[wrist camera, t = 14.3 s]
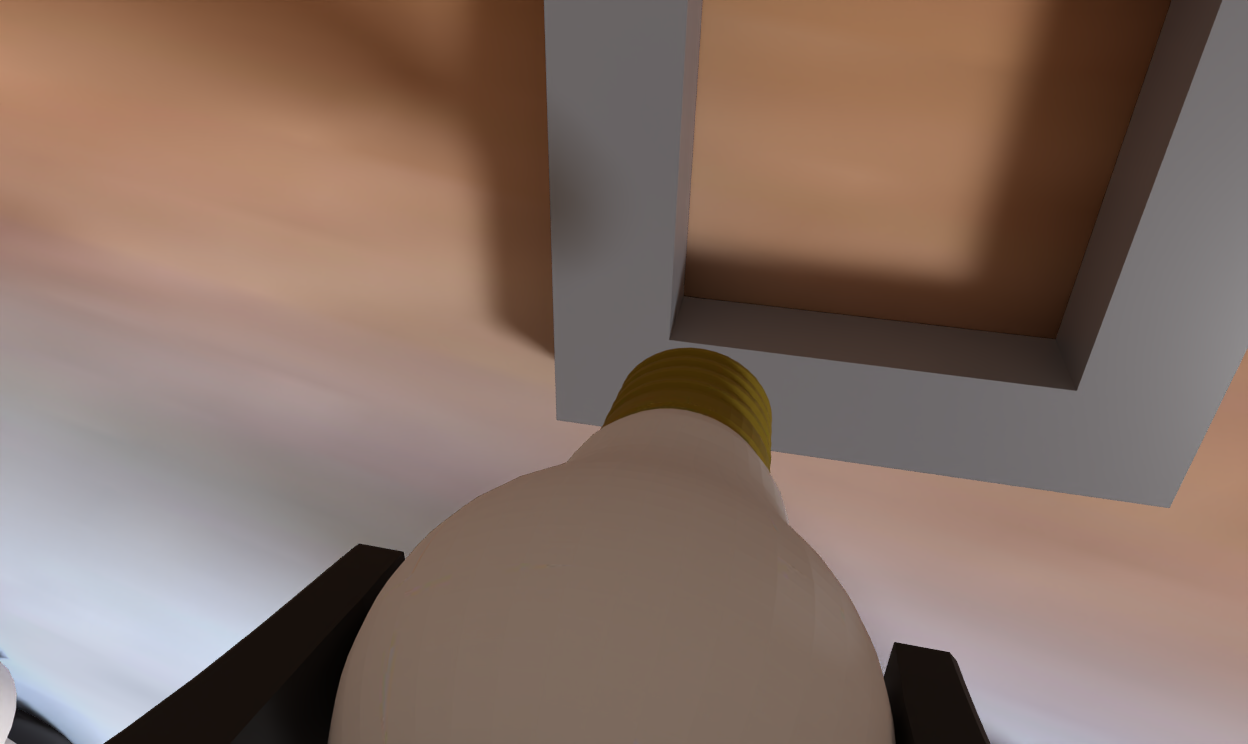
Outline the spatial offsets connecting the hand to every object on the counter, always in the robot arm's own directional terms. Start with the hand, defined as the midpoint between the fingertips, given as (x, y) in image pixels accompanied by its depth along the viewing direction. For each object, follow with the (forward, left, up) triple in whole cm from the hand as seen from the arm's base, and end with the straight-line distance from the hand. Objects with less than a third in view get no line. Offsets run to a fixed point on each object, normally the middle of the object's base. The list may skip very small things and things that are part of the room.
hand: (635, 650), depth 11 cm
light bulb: (0, 0, -6) cm, 6 cm away
